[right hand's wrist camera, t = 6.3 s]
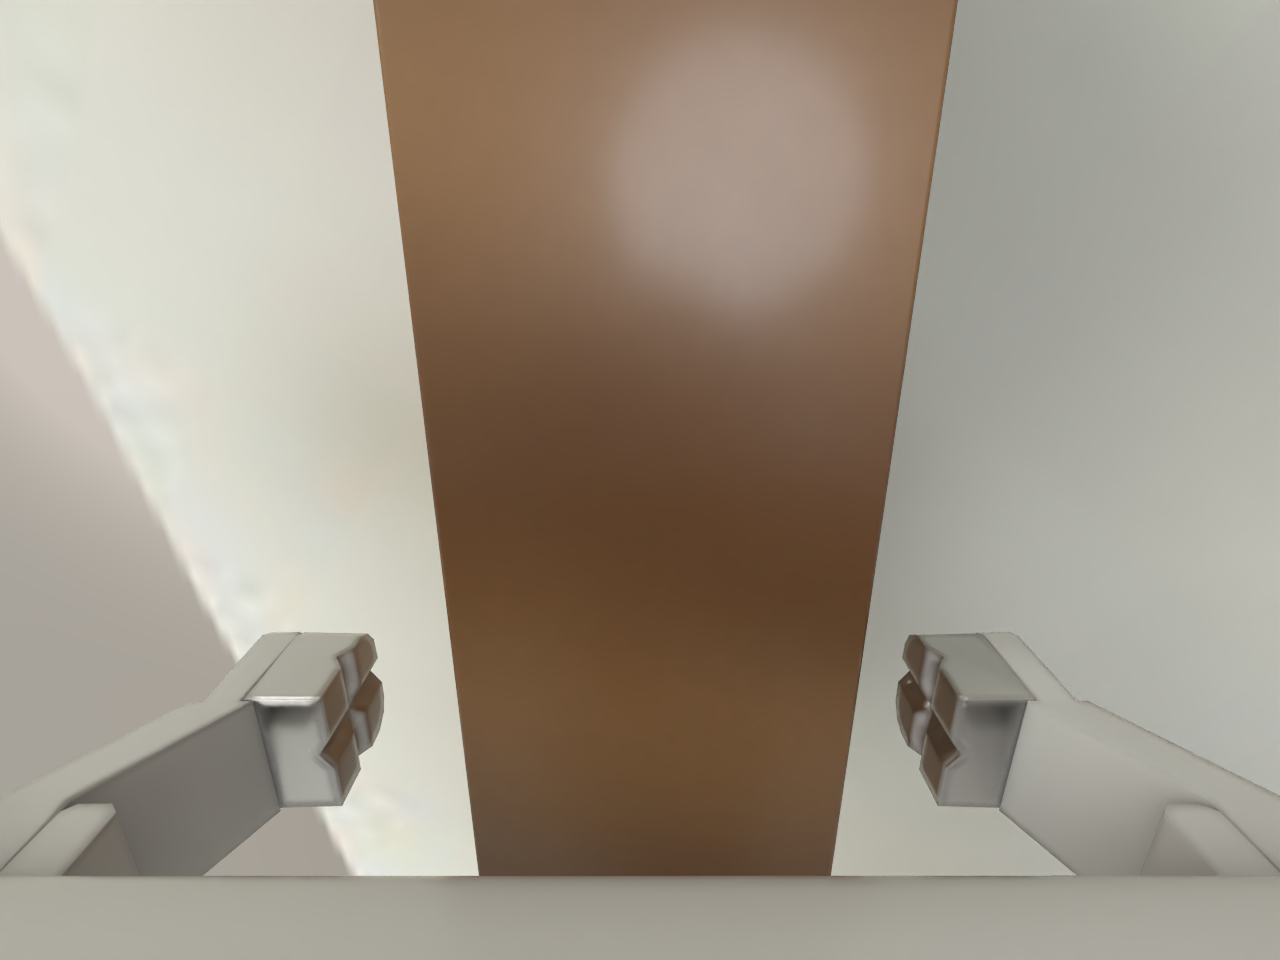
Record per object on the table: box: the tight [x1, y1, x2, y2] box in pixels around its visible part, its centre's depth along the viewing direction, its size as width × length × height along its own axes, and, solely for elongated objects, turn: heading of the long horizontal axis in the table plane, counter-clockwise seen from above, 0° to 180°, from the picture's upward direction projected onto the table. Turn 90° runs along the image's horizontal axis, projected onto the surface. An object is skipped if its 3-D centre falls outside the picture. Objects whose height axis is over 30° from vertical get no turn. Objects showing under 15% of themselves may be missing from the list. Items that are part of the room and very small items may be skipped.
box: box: [373, 0, 958, 876], centre depth 12 cm, size 27×6×12 cm, turn 0°
